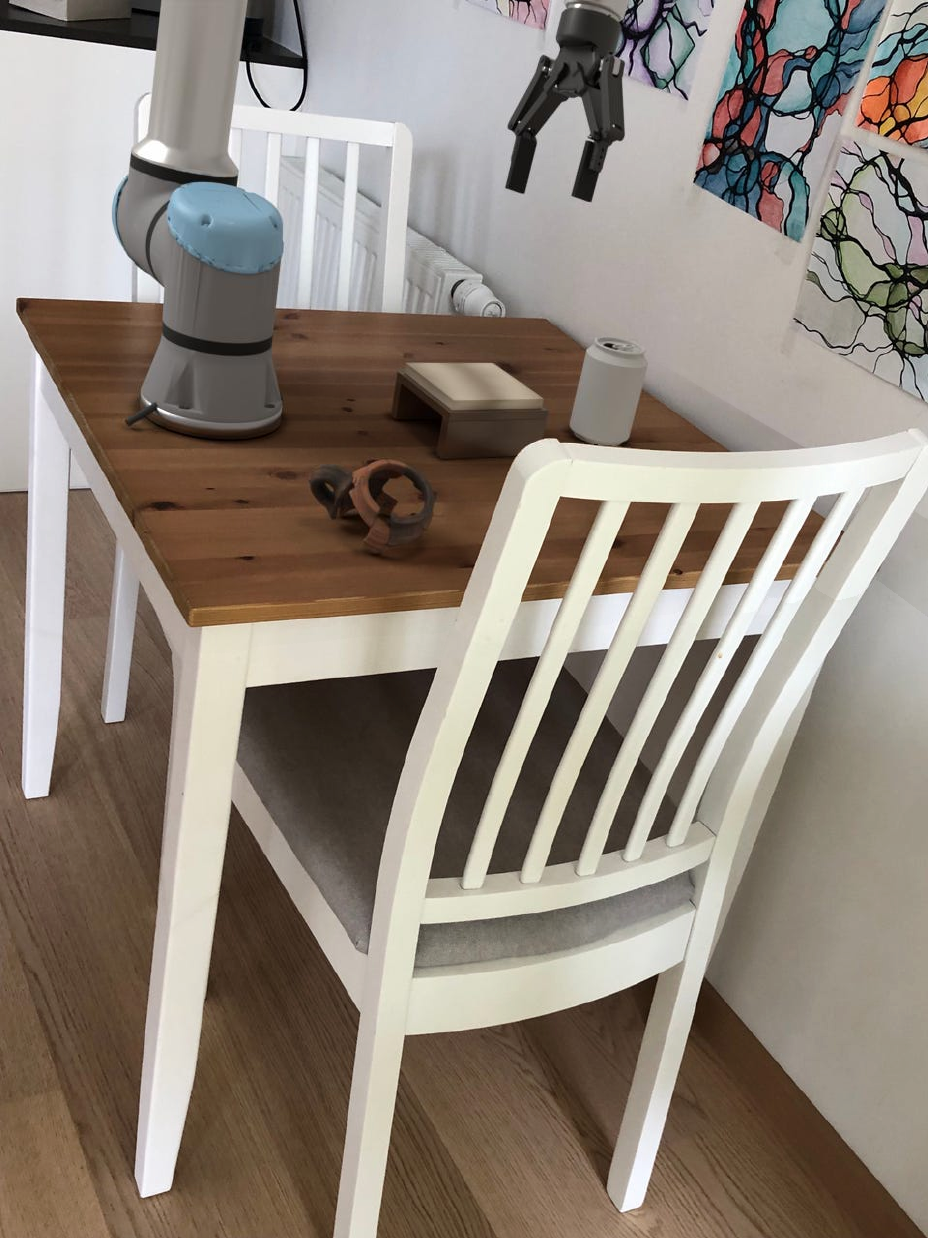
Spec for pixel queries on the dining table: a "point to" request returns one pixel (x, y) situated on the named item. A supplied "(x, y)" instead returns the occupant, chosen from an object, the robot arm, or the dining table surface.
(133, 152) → the robot arm
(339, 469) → the broken clay pot
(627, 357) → the can
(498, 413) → the bench
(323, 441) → the dining table surface
